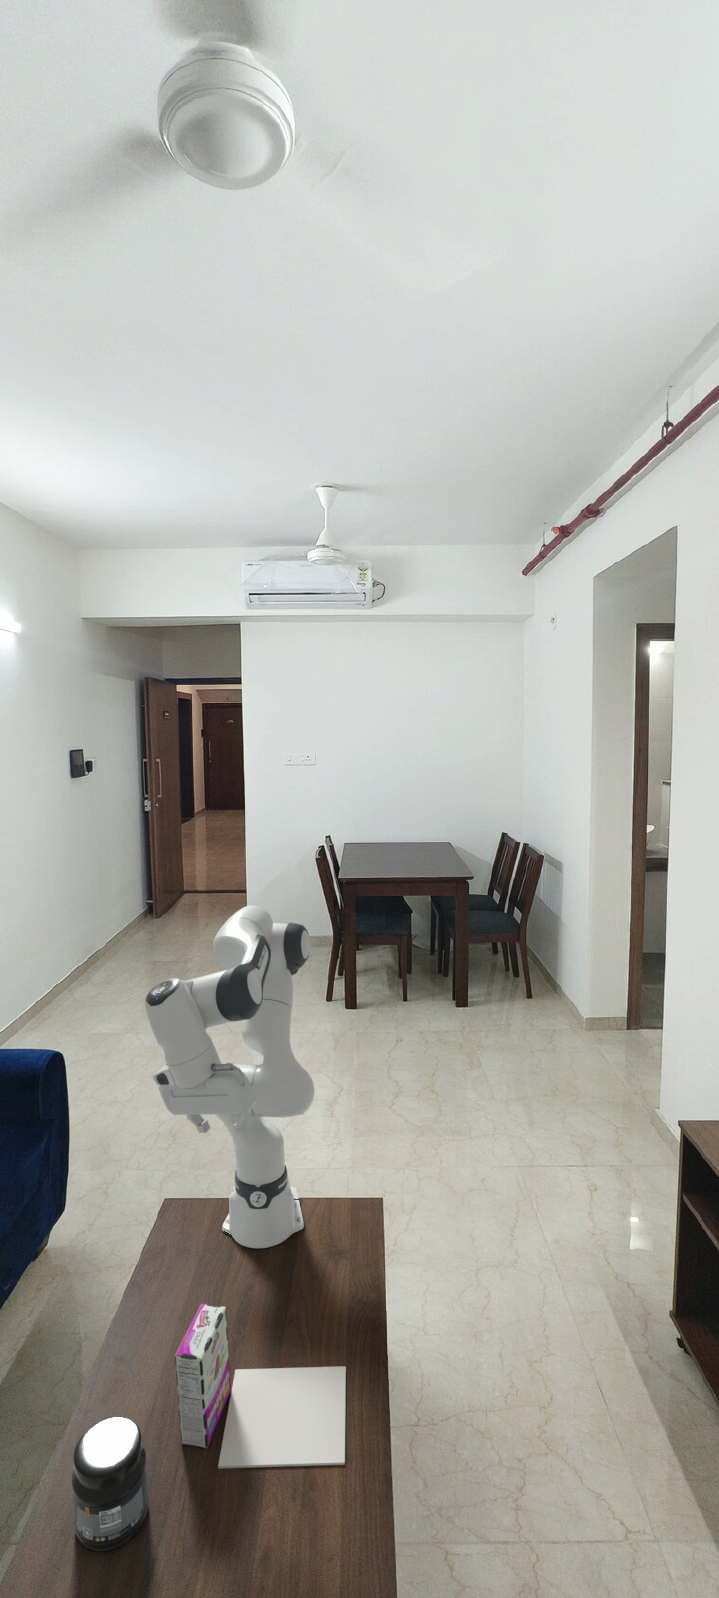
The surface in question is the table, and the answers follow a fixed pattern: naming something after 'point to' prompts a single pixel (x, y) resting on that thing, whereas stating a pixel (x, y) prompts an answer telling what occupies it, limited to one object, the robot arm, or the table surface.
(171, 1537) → the table surface
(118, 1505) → the supplement container
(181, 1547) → the table surface
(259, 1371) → the mat
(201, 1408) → the candy bar box
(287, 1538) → the table surface
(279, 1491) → the table surface
